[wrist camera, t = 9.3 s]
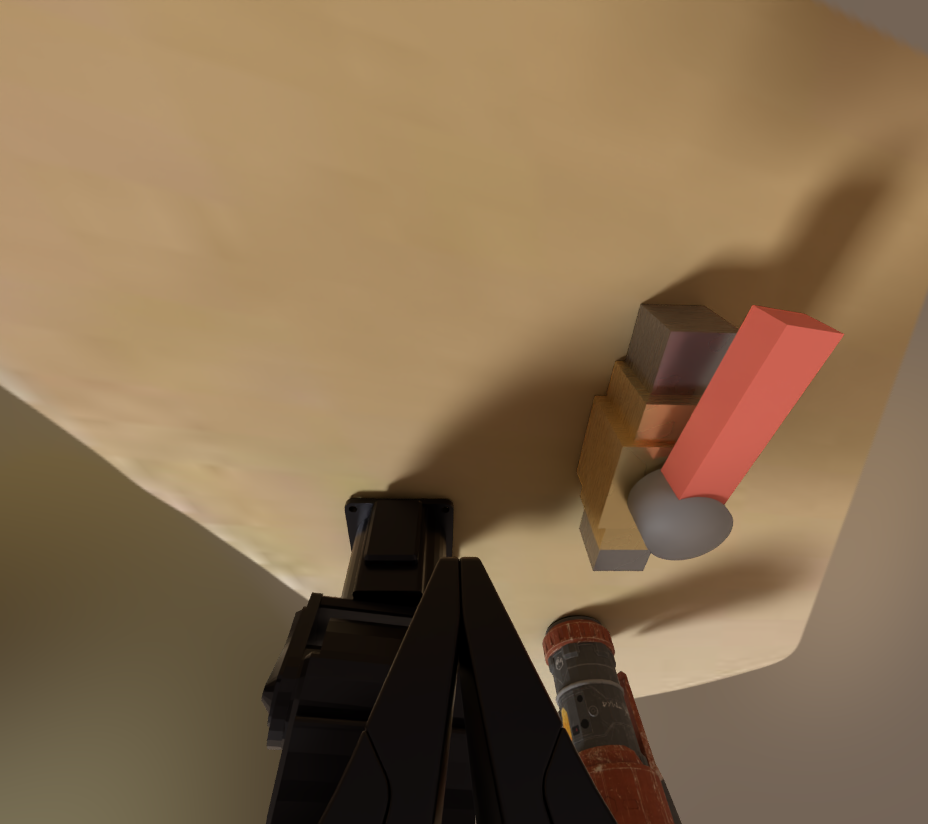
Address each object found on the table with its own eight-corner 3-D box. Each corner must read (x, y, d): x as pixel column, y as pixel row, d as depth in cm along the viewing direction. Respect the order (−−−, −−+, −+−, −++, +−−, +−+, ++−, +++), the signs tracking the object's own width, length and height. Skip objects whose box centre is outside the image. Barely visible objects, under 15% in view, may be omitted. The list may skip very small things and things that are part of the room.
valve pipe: (640, 528, 28) (669, 587, 24) (562, 528, 28) (579, 587, 24) (728, 306, 20) (790, 345, 16) (617, 303, 19) (655, 342, 16)
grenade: (594, 660, 37) (668, 929, 25) (521, 638, 35) (561, 922, 22) (640, 627, 34) (749, 910, 22) (564, 601, 32) (637, 901, 20)
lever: (684, 525, 21) (707, 563, 19) (616, 518, 20) (632, 556, 19) (822, 316, 15) (874, 341, 13) (729, 300, 15) (769, 324, 13)
